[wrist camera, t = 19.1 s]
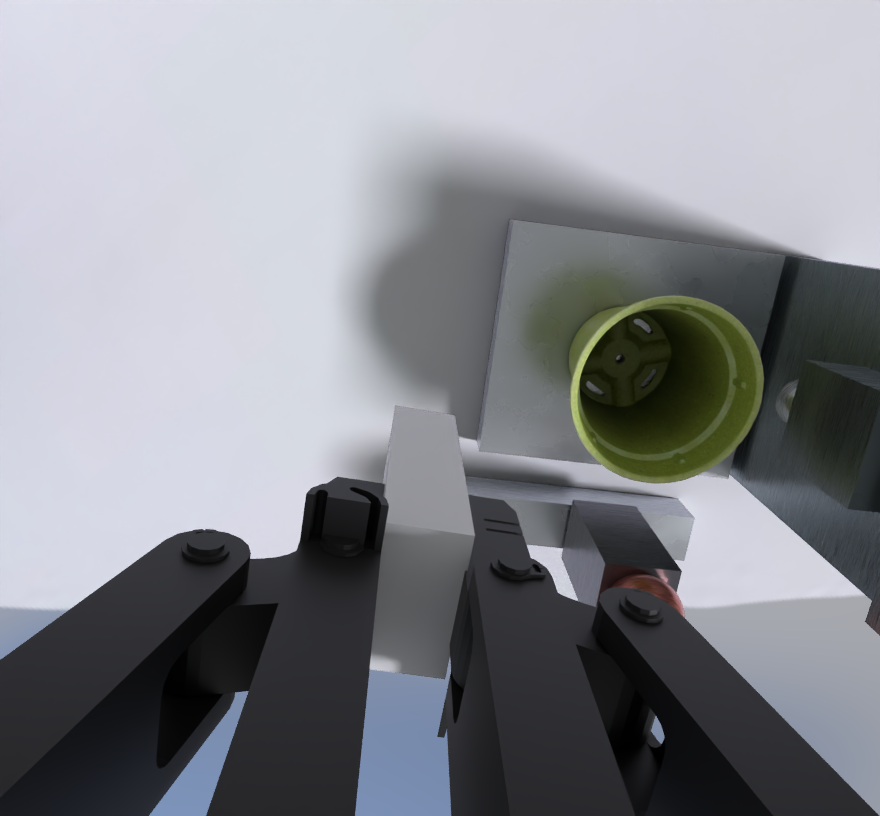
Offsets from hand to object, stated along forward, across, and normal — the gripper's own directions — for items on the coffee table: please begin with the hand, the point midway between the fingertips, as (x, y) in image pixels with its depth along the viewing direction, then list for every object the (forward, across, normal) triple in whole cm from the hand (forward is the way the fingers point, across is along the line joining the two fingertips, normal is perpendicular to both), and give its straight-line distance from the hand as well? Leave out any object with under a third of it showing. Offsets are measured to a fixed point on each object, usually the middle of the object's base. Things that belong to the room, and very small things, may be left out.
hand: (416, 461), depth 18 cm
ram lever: (+23, +13, -11) cm, 29 cm away
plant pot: (+25, +12, 0) cm, 28 cm away
